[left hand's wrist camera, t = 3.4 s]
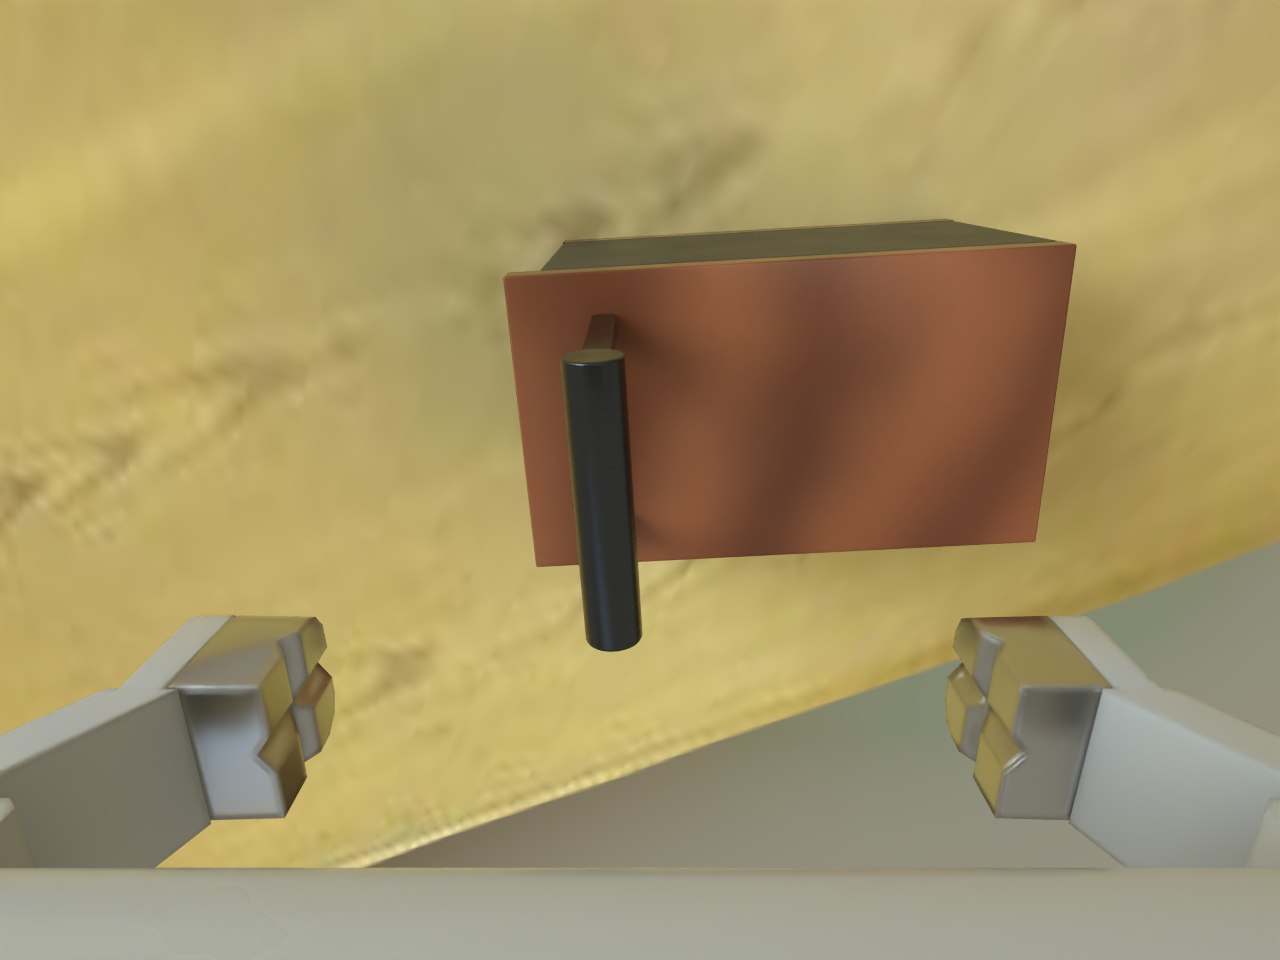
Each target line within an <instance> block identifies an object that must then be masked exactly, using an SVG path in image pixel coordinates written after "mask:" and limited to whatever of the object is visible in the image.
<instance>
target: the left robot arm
mask: <svg viewBox="0 0 1280 960" xmlns="http://www.w3.org/2000/svg"><path fill="white" fill-rule="evenodd" d="M326 648H327V644H326V640H325V635H324V630H323V625H322V624H321V623H320V622H319V621H318V619H317V618H316V617H284V616H235V615H207V616H196V617H190V618H189V619H188V620H187V621H186V622H185V623H184V624H183V625H182V626H181V627H180V628H179V629H178V630H177V631H176V632H175V633H174V634H173V635H172V636H171V637H170V638H169V639H168V640H167V641H166V642H165V643H164V644H163V645H162V646H161V647H160V648H159V649H158V650H157V651H156V652H155V653H154V654H153V655H152V656H151V657H150V658H149V659H148V660H147V661H146V662H145V663H144V664H143V665H142V666H141V667H140V668H139V669H138V670H137V671H136V672H135V673H134V674H133V675H132V676H131V677H130V678H129V679H128V680H127V681H126V682H125V683H124V684H123V685H122V686H121V687H120V688H119V689H104V690H102V691H99V692H97V693H95V694H93V695H90V696H88V697H86V698H84V699H81V700H79V701H77V702H75V703H72V704H70V705H68V706H65V707H63V708H61V709H59V710H56V711H54V712H52V713H50V714H47V715H45V716H43V717H40V718H38V719H36V720H34V721H31V722H29V723H27V724H25V725H22V726H20V727H18V728H16V729H13V730H11V731H9V732H6V733H4V734H2V735H0V960H1280V735H1278V734H1275V733H1273V732H1271V731H1269V730H1267V729H1264V728H1262V727H1260V726H1257V725H1255V724H1253V723H1251V722H1248V721H1246V720H1244V719H1242V718H1239V717H1237V716H1235V715H1232V714H1230V713H1228V712H1226V711H1224V710H1221V709H1219V708H1217V707H1214V706H1212V705H1210V704H1208V703H1205V702H1203V701H1201V700H1199V699H1196V698H1194V697H1192V696H1189V695H1187V694H1185V693H1183V692H1180V691H1178V690H1176V689H1161V688H1160V687H1159V686H1158V685H1157V684H1156V683H1155V682H1154V681H1153V680H1152V679H1151V678H1150V677H1149V676H1148V675H1147V674H1146V673H1145V672H1144V671H1143V670H1142V669H1141V668H1140V667H1139V666H1138V665H1137V664H1136V663H1135V662H1134V661H1133V660H1132V659H1131V658H1130V657H1129V656H1128V655H1127V654H1126V653H1125V652H1124V651H1123V650H1122V649H1121V648H1120V647H1119V646H1118V645H1117V644H1116V643H1115V642H1114V641H1113V640H1112V639H1111V638H1110V637H1109V636H1108V635H1107V634H1106V633H1105V632H1104V631H1103V630H1102V629H1101V628H1100V627H1099V626H1098V625H1097V624H1096V623H1095V622H1094V621H1093V620H1092V619H1091V618H1088V617H1085V616H1083V615H1060V616H1028V617H987V618H964V619H961V621H960V623H959V625H958V627H957V629H956V633H955V639H954V644H953V648H954V650H955V651H956V653H957V655H958V656H959V658H960V659H961V661H962V663H961V664H960V665H959V666H958V667H957V668H956V669H955V671H953V672H952V674H951V675H950V676H949V677H948V680H947V688H946V696H945V705H946V717H947V723H948V727H949V730H950V733H951V737H952V739H953V741H954V742H955V744H956V746H957V748H958V750H959V752H961V753H962V754H964V755H965V756H967V757H969V758H970V759H972V760H973V761H975V762H976V764H975V769H974V775H973V778H974V780H975V782H976V783H977V785H978V787H979V789H980V791H981V793H982V794H983V796H984V798H985V800H986V802H987V803H988V805H989V807H990V809H991V811H992V812H993V814H994V816H995V818H1013V819H1049V820H1069V824H1070V825H1072V826H1073V827H1074V828H1075V829H1077V830H1078V831H1079V832H1081V833H1082V834H1083V835H1084V836H1086V837H1087V838H1088V839H1089V840H1091V841H1092V842H1093V843H1095V844H1096V845H1097V846H1098V847H1100V848H1101V849H1102V850H1104V851H1105V852H1106V853H1107V854H1109V855H1110V856H1111V857H1112V858H1114V859H1115V860H1116V861H1118V862H1119V863H1120V864H1121V865H1123V866H1124V867H1125V868H155V867H156V866H158V865H159V864H160V863H161V862H163V861H164V860H165V859H167V858H168V857H169V856H170V855H172V854H173V853H174V852H175V851H177V850H178V849H179V848H181V847H182V846H183V845H184V844H186V843H187V842H188V841H190V840H191V839H192V838H193V837H195V836H196V835H197V834H199V833H200V832H201V831H202V830H204V829H205V828H206V827H208V826H209V825H210V824H211V821H210V820H231V819H266V818H285V816H286V814H287V813H288V811H289V809H290V807H291V805H292V803H293V802H294V800H295V798H296V796H297V794H298V793H299V791H300V789H301V787H302V785H303V783H304V782H305V780H306V778H307V775H306V769H305V764H304V762H305V761H307V760H309V759H310V758H312V757H313V756H315V755H316V754H318V753H319V752H321V750H322V748H323V746H324V744H325V742H326V740H327V738H328V736H329V734H330V730H331V725H332V721H333V717H334V705H335V693H334V687H333V680H332V677H331V676H330V675H329V673H328V672H327V671H326V670H325V669H324V668H323V667H322V666H321V665H320V664H319V663H318V661H319V659H320V658H321V656H322V655H323V653H324V651H325V650H326Z"/></svg>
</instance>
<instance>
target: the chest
mask: <svg viewBox="0 0 1280 960" xmlns="http://www.w3.org/2000/svg"><path fill="white" fill-rule="evenodd" d="M1041 242H1058V241H1055V240H1049V239H1044V238H1039V237H1034V236H1028V235H1023V234H1018V233H1012V232H1007V231H1002V230H997V229H991V228H986V227H981V226H976V225H970V224H965V223H960V222H955V221H953V220H948V219H936V220H919V221H901V222H884V223H866V224H849V225H831V226H814V227H796V228H779V229H761V230H744V231H726V232H709V233H691V234H674V235H656V236H639V237H621V238H604V239H586V240H569V241H564V242H563V245H562V246H561V248H560V249H559V250H558V251H557V252H556V253H555V254H554V256H553V257H552V258H551V259H550V260H549V261H548V262H547V263H546V265H545V266H544V267H543V268H542V269H541V270H540V271H546V270H564V269H581V268H599V267H617V266H634V265H652V264H670V263H687V262H705V261H723V260H740V259H758V258H776V257H793V256H811V255H829V254H846V253H864V252H882V251H899V250H917V249H935V248H952V247H970V246H988V245H1005V244H1023V243H1041Z"/></svg>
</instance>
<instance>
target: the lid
mask: <svg viewBox="0 0 1280 960" xmlns="http://www.w3.org/2000/svg"><path fill="white" fill-rule="evenodd" d="M1075 253H1076V244H1072V243H1066V242H1061V241H1058V242H1041V243H1023V244H1005V245H988V246H970V247H952V248H935V249H917V250H899V251H882V252H864V253H846V254H829V255H811V256H793V257H776V258H758V259H740V260H723V261H705V262H687V263H670V264H652V265H634V266H617V267H599V268H581V269H564V270H546V271H528V272H511V273H508V274H507V275H505V276H504V278H503V280H504V289H505V298H506V307H507V315H508V324H509V333H510V341H511V350H512V359H513V368H514V376H515V385H516V394H517V403H518V411H519V420H520V429H521V437H522V446H523V455H524V464H525V472H526V481H527V490H528V498H529V507H530V516H531V525H532V533H533V542H534V551H535V560H536V566H537V567H544V566H564V565H579V567H580V578H581V589H582V600H583V611H584V621H585V632H586V640H587V642H588V643H589V644H590V645H591V646H592V647H593V648H595V649H598V650H601V651H608V652H614V651H622V650H625V649H628V648H631V647H633V646H634V645H636V644H637V643H638V642H639V641H640V639H641V637H642V621H641V604H640V588H639V572H638V562H643V561H663V560H683V559H703V558H723V557H742V556H762V555H782V554H802V553H822V552H842V551H861V550H881V549H901V548H921V547H941V546H961V545H981V544H1000V543H1020V542H1035V539H1036V532H1037V525H1038V518H1039V510H1040V503H1041V496H1042V489H1043V482H1044V475H1045V468H1046V460H1047V453H1048V446H1049V439H1050V432H1051V425H1052V417H1053V410H1054V403H1055V396H1056V389H1057V382H1058V375H1059V367H1060V360H1061V353H1062V346H1063V339H1064V332H1065V324H1066V317H1067V310H1068V303H1069V296H1070V289H1071V282H1072V274H1073V267H1074V260H1075Z"/></svg>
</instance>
